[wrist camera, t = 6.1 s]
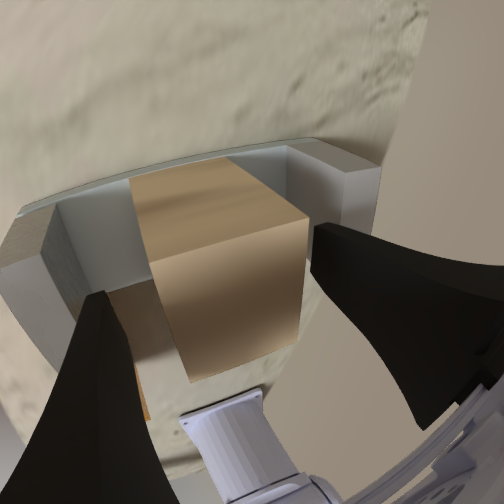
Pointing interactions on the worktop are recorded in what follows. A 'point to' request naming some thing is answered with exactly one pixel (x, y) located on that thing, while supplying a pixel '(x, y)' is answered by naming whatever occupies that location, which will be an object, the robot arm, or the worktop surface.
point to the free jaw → (45, 283)
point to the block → (222, 262)
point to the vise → (248, 158)
